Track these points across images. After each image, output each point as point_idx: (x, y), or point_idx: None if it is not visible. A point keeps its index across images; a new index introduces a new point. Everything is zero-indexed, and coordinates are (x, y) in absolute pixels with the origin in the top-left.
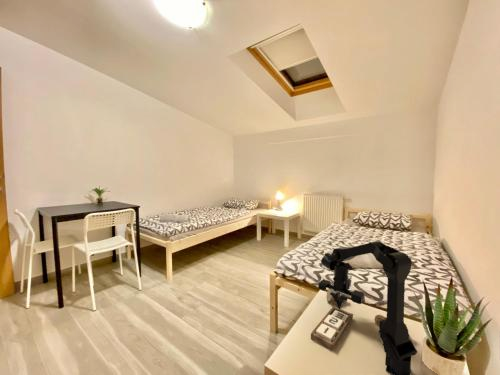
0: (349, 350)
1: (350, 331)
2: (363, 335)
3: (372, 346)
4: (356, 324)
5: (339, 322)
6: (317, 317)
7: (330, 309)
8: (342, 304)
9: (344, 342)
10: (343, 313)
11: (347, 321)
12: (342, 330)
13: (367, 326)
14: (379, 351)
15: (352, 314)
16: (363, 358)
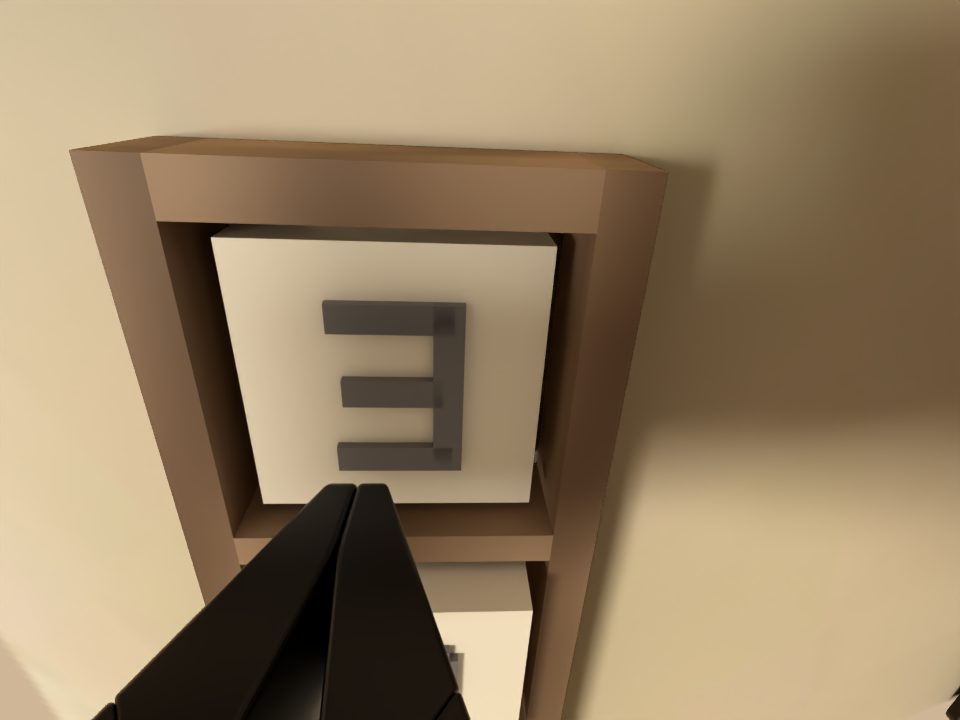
0: (650, 705)
1: (625, 485)
2: (802, 449)
3: (888, 550)
4: (701, 267)
5: (495, 675)
6: (104, 515)
7: (134, 365)
8: (421, 582)
9: (590, 662)
10: (432, 242)
11: (589, 499)
12: (562, 690)
13: (904, 183)
14: (952, 568)
15: (656, 191)
16: (773, 706)
